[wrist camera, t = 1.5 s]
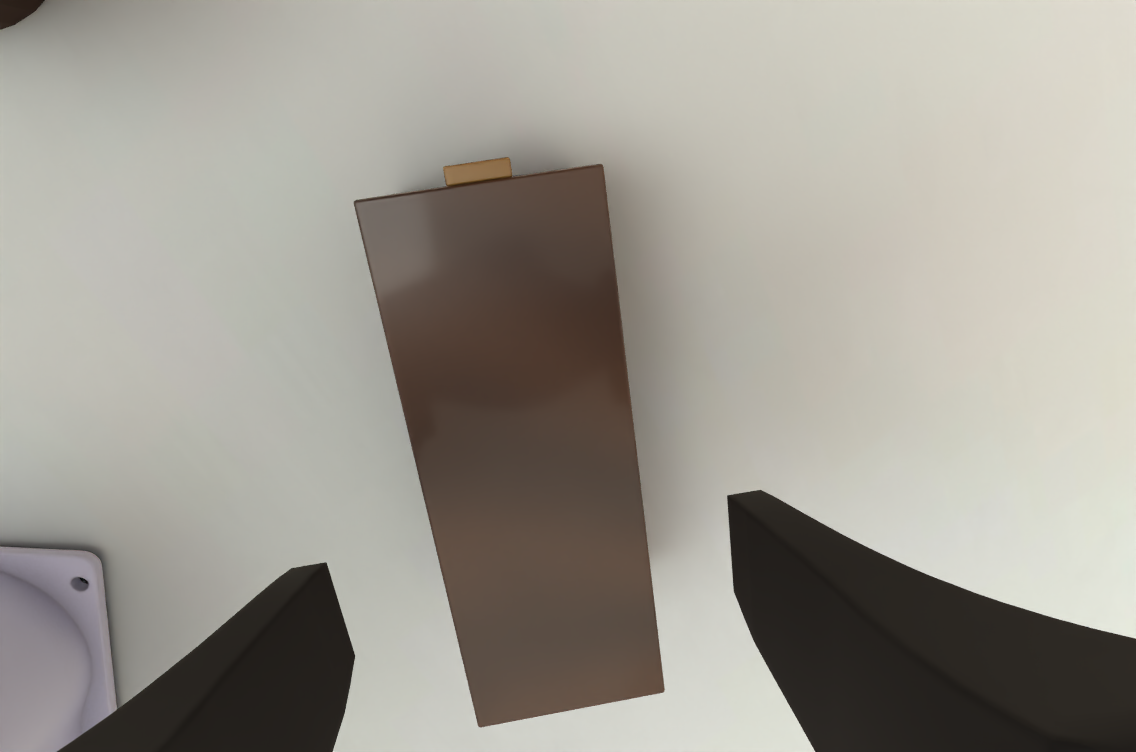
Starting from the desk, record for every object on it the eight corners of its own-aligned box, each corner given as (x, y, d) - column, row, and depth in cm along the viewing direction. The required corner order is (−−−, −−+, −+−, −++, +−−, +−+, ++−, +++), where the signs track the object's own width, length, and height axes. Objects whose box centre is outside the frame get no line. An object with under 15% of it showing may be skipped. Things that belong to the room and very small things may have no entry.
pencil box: (628, 574, 23) (665, 693, 17) (484, 600, 22) (478, 729, 17) (573, 152, 18) (601, 143, 13) (393, 179, 18) (347, 180, 13)
